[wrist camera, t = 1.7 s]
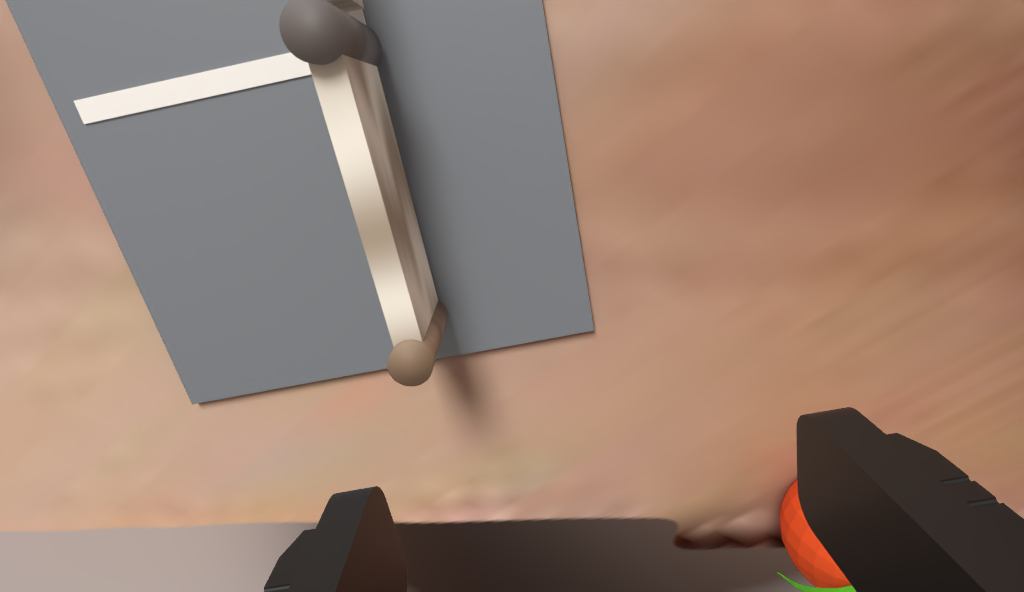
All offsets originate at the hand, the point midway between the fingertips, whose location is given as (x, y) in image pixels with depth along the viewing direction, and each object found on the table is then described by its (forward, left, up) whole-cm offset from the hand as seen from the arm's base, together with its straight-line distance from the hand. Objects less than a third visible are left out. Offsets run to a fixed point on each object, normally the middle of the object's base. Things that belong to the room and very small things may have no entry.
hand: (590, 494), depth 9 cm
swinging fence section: (+6, -4, -17) cm, 19 cm away
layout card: (+9, -10, -18) cm, 22 cm away
